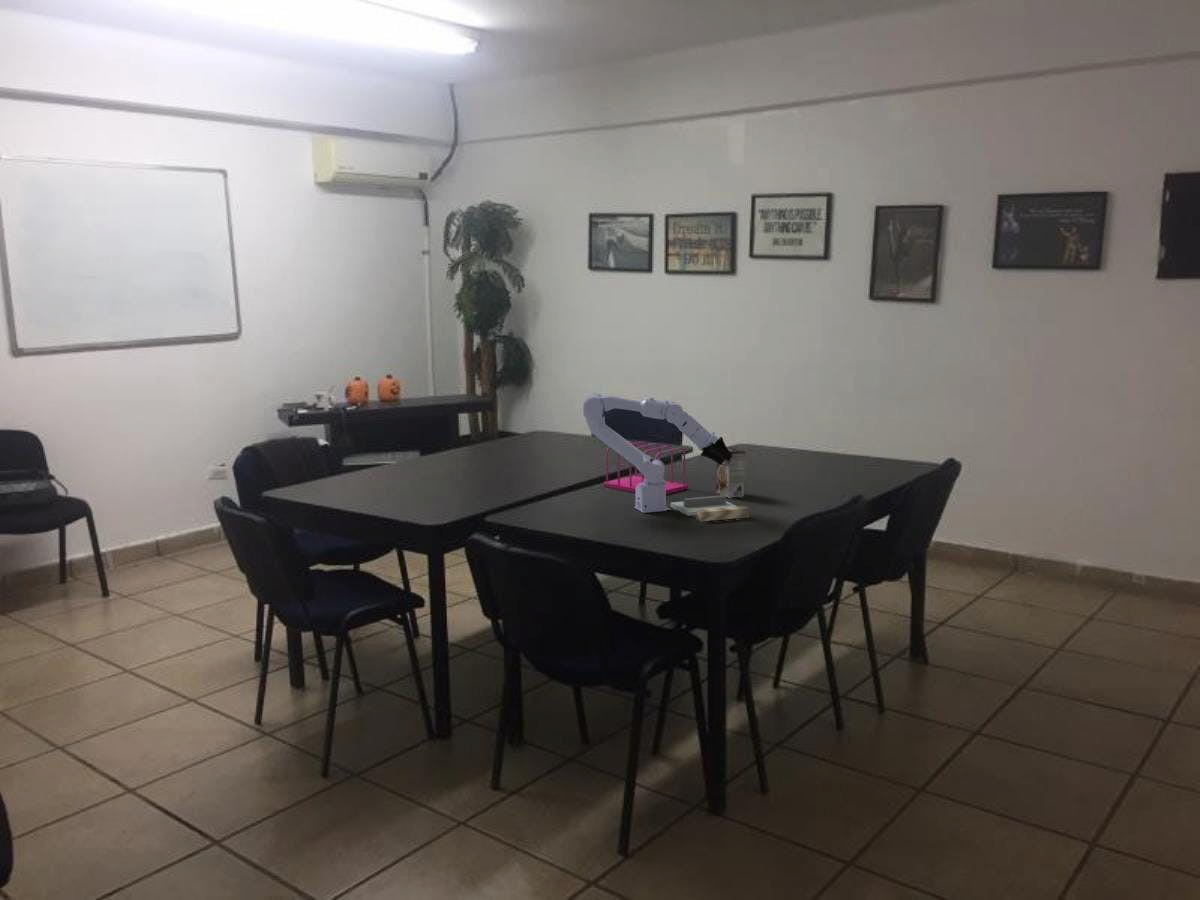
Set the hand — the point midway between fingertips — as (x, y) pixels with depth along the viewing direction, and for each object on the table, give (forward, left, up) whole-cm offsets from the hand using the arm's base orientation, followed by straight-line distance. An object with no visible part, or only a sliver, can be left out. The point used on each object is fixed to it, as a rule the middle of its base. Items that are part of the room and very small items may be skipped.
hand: (726, 460), depth 305 cm
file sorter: (-11, +41, -17) cm, 45 cm away
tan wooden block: (-6, -9, -17) cm, 20 cm away
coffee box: (+11, +20, -17) cm, 28 cm away
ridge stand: (-6, +4, -16) cm, 18 cm away
